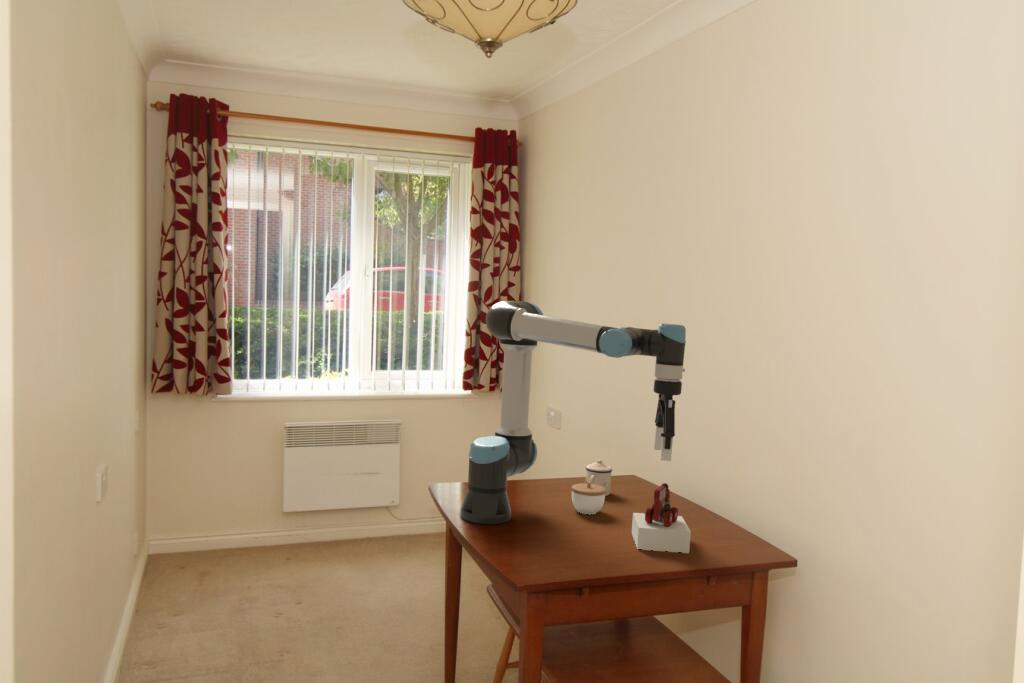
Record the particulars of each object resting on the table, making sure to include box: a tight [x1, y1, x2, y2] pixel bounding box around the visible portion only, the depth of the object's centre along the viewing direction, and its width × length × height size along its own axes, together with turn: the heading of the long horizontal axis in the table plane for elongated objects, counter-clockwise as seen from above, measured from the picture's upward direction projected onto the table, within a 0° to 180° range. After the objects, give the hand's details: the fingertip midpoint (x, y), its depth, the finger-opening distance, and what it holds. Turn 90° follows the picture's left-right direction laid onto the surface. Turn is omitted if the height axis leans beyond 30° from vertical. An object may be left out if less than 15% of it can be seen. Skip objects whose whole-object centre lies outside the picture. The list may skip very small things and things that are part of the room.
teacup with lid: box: [584, 459, 613, 497], centre depth 257 cm, size 12×9×12 cm
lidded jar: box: [571, 482, 606, 516], centre depth 235 cm, size 11×11×9 cm
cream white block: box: [631, 512, 692, 554], centre depth 210 cm, size 14×14×6 cm
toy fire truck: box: [645, 482, 679, 527], centre depth 209 cm, size 7×12×10 cm, turn 152°
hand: (662, 455), depth 209 cm, fingers open, 13 cm apart
